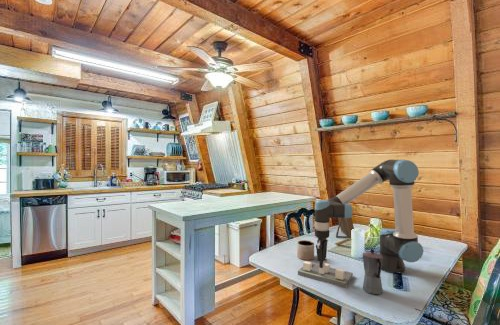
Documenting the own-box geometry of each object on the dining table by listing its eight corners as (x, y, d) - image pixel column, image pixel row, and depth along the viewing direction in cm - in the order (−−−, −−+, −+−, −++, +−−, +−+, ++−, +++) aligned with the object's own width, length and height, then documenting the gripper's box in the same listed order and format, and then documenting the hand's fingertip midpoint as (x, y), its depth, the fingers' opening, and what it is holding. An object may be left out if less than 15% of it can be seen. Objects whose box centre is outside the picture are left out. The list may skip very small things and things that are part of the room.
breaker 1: (311, 269, 147) (311, 262, 147) (309, 271, 144) (309, 264, 144) (305, 267, 149) (305, 260, 149) (302, 269, 147) (303, 262, 147)
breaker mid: (329, 271, 145) (329, 264, 145) (327, 273, 142) (327, 265, 142) (322, 269, 147) (322, 262, 147) (320, 271, 145) (320, 264, 145)
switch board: (352, 276, 144) (352, 272, 144) (345, 287, 131) (345, 283, 131) (307, 265, 158) (307, 262, 158) (297, 274, 146) (297, 270, 146)
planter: (314, 261, 165) (314, 246, 165) (297, 259, 167) (297, 245, 167) (313, 254, 175) (314, 240, 175) (297, 253, 178) (297, 239, 177)
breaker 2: (344, 277, 137) (344, 270, 137) (343, 280, 134) (343, 272, 134) (336, 275, 139) (336, 268, 139) (335, 278, 137) (335, 270, 137)
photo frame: (345, 231, 230) (345, 203, 230) (356, 239, 209) (356, 208, 208) (329, 231, 230) (329, 203, 230) (338, 239, 208) (337, 208, 208)
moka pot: (374, 283, 136) (375, 245, 136) (391, 299, 121) (392, 256, 120) (356, 283, 136) (357, 245, 135) (371, 299, 120) (372, 256, 120)
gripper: (319, 225, 147) (319, 267, 147) (310, 230, 136) (310, 275, 136) (332, 227, 142) (332, 270, 143) (325, 233, 132) (324, 279, 132)
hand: (321, 272), depth 140 cm, fingers closed
